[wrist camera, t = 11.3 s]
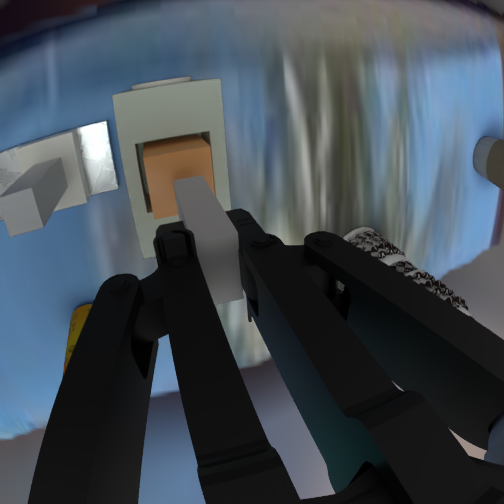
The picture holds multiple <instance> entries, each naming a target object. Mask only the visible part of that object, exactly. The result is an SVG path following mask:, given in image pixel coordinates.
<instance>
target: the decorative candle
mask: <svg viewBox="0 0 504 504" xmlns="http://www.w3.org/2000/svg"><path fill="white" fill-rule="evenodd" d="M343 239H345V240H346V241H348V242H350V243H352V244H353V245H355V246H357V247H358V248H360V249H362V250H364V251H365V252H367V253H369V254H370V255H372V256H374V257H375V258H377V259H379V260H380V261H382V262H384V263H385V264H387V265H389V266H390V267H392V268H394V269H395V270H397V271H399V272H400V273H402V274H404V275H405V276H407V277H408V278H410V279H412V280H413V281H415V282H416V283H418V284H420V285H421V286H423V287H424V288H426V289H428V290H429V291H431V292H432V293H434V294H436V295H437V296H439V297H440V298H442V299H443V300H445V301H446V302H448V303H450V304H451V305H453V306H454V307H456V308H457V309H459V310H460V311H462V312H463V313H465V314H466V315H468V316H469V317H471V318H472V319H474V318H473V316H472V315H471V314H470V313H469V312H468V307H467V306H466V301H465V300H462V298H461V297H459V296H458V297H456V296H454V292H453V291H452V290H449V289H448V288H446V285H445V284H442V283H441V281H439V280H437V281H435V278H434V276H432V275H429V273H427V272H426V271H425V270H418V269H417V268H416V267H414V266H413V264H412V263H411V262H410V261H409V260H408V259H407V258H406V257H405V254H404V253H403V252H400V250H399V249H397V247H395V246H393V244H391V243H390V242H389V241H388V240H387V239H385V238H384V237H383V236H382V235H380V234H379V233H378V232H375V231H374V230H373V229H372V228H368V227H360V228H356V229H354V230H352V231H351V232H349V233H348V234H346V235H345V236H344V237H343ZM448 295H449V296H450V297H448ZM456 303H458V304H461V305H462V307H459V305H457V304H456ZM474 320H475V319H474ZM475 321H476V320H475Z"/></svg>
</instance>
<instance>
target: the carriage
mask: <svg viewBox="0 0 504 504" xmlns="http://www.w3.org/2000/svg"><path fill="white" fill-rule="evenodd" d="M16 154H17V159H18V163H19V167H20V171H21V175H22V176H20V177H19V178H18V179H17V180H16V181H15V182H14V183H13V184H12V185H11V186H10V187H9V188H8V189H7V190H5V191H4V192H3V193H2V194H1V195H0V210H1V213H2V216H3V219H4V222H5V225H6V228H7V231H8V233H9V236H10V237H12V236H16V235H19V234H23V233H26V232H30V231H34V230H37V229H41V228H44V226H45V225H46V223H47V221H48V219H49V218H50V216H51V214H52V212H54V211H58V210H61V209H65V208H69V207H73V206H77V205H81V204H85V203H87V202H88V200H89V197H90V194H89V190H88V185H87V181H86V177H85V172H84V168H83V163H82V158H81V153H80V148H79V143H78V137H77V132H76V129H74V130H70V131H67V132H63V133H60V134H56V135H53V136H50V137H46V138H43V139H40V140H37V141H34V142H31V143H28V144H25V145H22V146H20V147H19V148H17V149H16Z"/></svg>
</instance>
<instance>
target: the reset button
mask: <svg viewBox="0 0 504 504" xmlns="http://www.w3.org/2000/svg"><path fill="white" fill-rule="evenodd" d="M143 160H144V166H145V172H146V178H147V183H148V189H149V194H150V200H151V205H152V210H153V215H154V220H155V219H160V218H165V217H170V216H175V215H178V210H177V204H176V198H175V191H174V185H173V180H178V179H184V178H189V177H195V176H201V175H203V177H204V179H205V180H206V182H207V183H208V185H209V187H210V188H211V190H212V191H213V193H214V195H215V189H214V180H213V170H212V160H211V149H210V146H209V145H208V144H207V143H206V142H205V141H204V140H203V139H202V138H201V137H200V136H199V135H198V134H191V135H185V136H179V137H173V138H167V139H162V140H156V141H151V142H146V143H143Z"/></svg>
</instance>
